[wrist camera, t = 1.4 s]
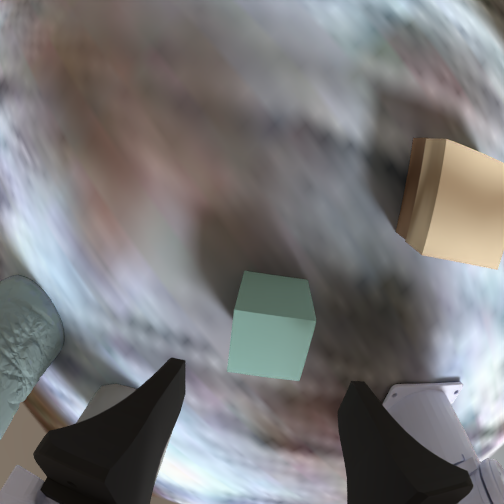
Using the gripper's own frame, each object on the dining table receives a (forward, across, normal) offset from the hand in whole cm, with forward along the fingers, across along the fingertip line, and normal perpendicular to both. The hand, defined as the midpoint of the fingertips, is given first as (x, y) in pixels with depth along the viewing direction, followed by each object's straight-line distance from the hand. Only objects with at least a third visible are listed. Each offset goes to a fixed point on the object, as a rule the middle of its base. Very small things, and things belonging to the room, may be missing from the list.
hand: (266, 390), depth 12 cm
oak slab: (+6, -10, -9) cm, 15 cm away
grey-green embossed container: (+8, +21, +6) cm, 23 cm away
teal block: (+8, 0, 0) cm, 8 cm away
